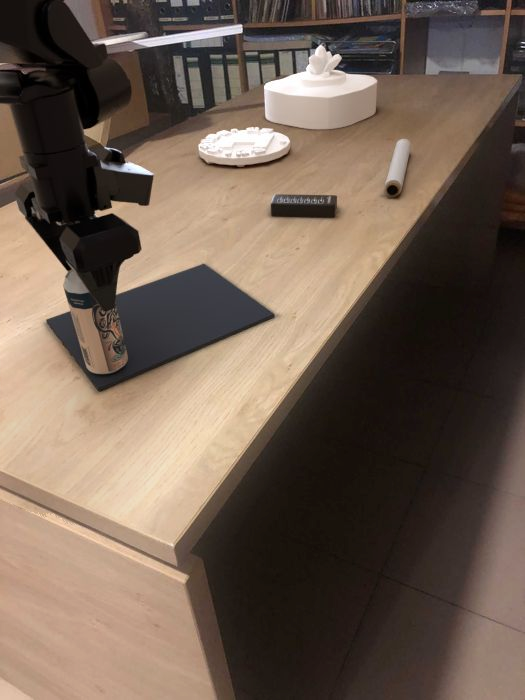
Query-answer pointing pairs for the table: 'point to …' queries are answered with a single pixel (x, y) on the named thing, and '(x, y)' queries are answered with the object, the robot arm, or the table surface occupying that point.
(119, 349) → the beer can
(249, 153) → the embossed medallion
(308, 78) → the white crystal-topped box
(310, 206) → the multiport hub
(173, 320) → the desk mat
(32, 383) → the table surface
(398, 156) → the tube
